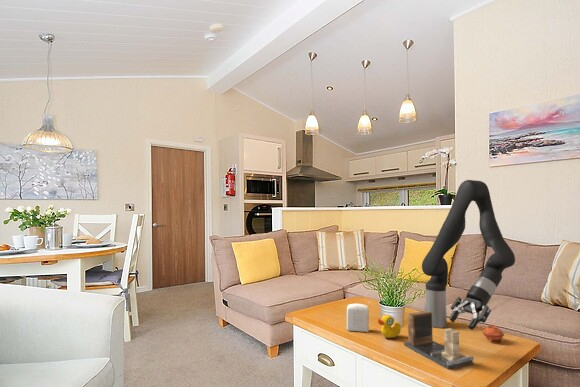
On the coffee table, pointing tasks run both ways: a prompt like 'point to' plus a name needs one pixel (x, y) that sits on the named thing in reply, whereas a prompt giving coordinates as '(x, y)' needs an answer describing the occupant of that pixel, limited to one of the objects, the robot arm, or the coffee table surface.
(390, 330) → the duckling
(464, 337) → the coffee table surface
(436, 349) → the grey stepped base
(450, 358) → the beige pedestal column
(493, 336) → the pot
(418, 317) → the dark brown block
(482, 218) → the robot arm
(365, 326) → the photo printer
